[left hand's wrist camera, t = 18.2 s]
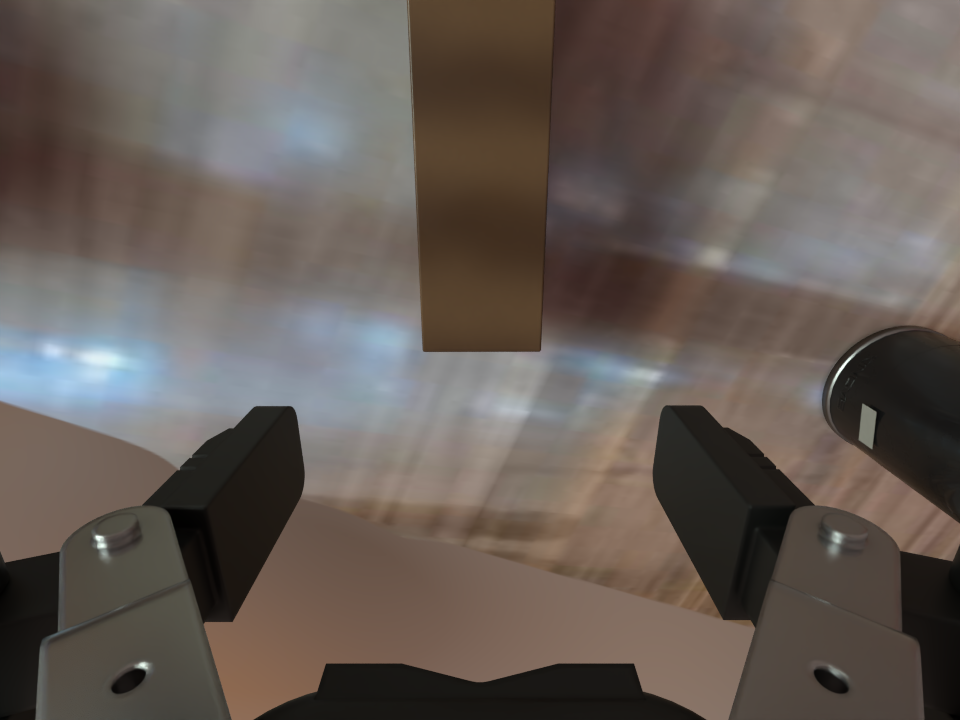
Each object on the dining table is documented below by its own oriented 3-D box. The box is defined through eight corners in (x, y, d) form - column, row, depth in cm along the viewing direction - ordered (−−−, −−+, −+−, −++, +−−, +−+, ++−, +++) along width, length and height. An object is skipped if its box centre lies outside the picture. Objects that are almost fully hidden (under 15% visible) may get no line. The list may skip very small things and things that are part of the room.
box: (524, 303, 35) (540, 352, 25) (437, 303, 35) (422, 352, 25) (537, -109, 27) (566, -253, 18) (424, -108, 27) (395, -253, 18)
